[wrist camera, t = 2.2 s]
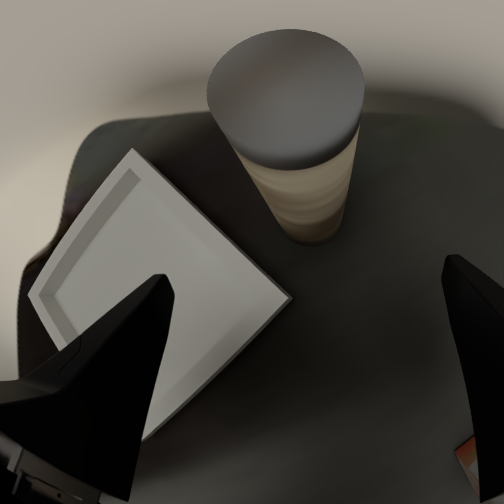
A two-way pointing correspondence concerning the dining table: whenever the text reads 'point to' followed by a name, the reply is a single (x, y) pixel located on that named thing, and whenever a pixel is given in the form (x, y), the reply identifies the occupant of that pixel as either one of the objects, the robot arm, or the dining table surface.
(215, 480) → the dining table surface
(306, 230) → the handle post
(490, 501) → the cracker box
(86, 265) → the tray
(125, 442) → the robot arm
